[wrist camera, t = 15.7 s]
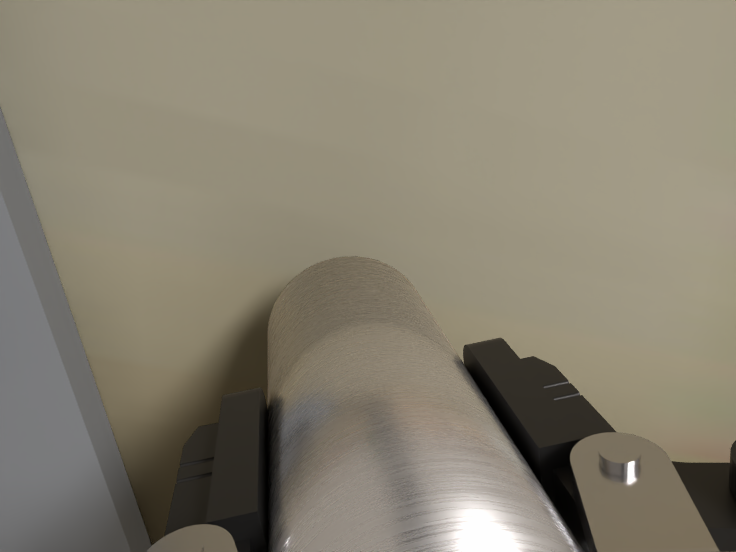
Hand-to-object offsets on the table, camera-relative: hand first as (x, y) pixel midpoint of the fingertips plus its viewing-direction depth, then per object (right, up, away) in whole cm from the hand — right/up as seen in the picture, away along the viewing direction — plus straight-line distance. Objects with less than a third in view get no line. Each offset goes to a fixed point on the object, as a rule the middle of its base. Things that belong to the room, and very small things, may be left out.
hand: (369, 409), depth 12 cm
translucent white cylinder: (0, +1, +4) cm, 4 cm away
